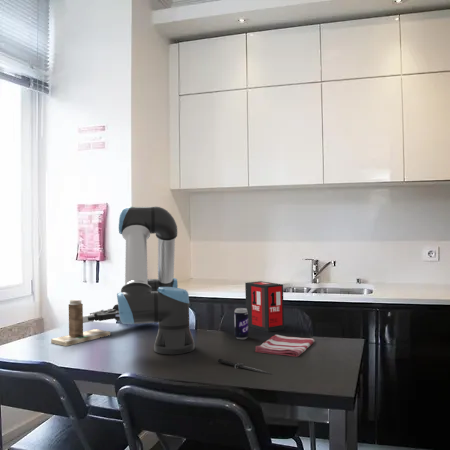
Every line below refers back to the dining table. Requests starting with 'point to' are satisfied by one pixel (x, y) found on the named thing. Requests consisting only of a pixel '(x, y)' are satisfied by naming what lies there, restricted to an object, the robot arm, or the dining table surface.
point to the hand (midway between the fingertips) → (80, 320)
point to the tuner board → (87, 336)
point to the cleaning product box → (265, 305)
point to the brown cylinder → (75, 318)
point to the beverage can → (241, 323)
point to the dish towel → (285, 345)
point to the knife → (241, 366)
